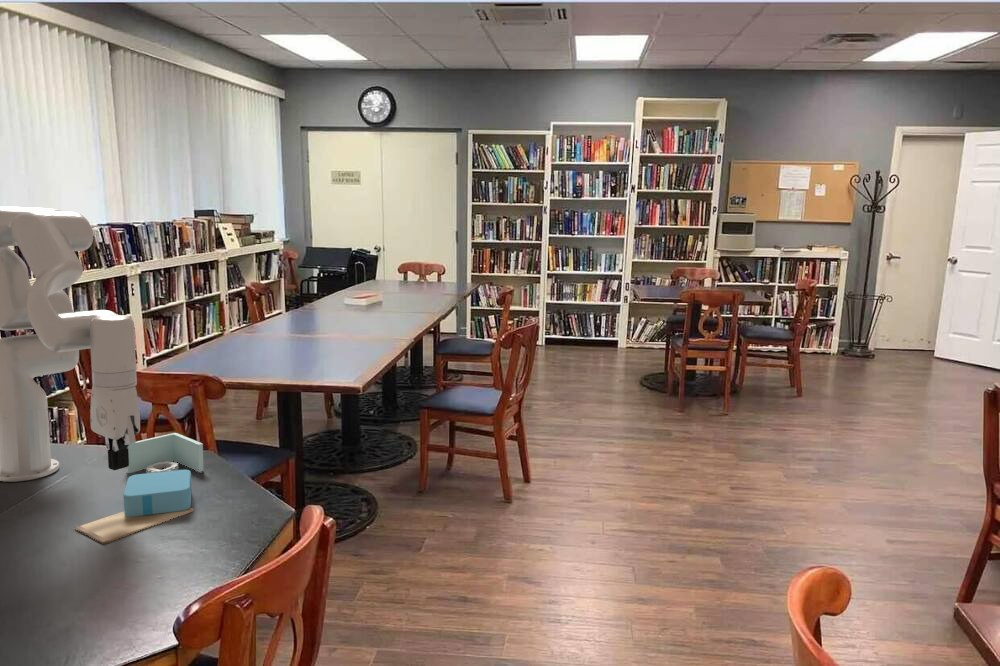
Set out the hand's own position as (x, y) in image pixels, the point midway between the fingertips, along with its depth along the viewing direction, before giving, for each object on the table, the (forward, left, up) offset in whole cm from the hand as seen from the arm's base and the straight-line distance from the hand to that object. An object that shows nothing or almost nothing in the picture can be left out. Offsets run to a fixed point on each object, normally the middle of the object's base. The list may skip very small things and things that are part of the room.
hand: (118, 467), depth 133 cm
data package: (-1, +2, -7) cm, 7 cm away
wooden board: (+5, 0, -10) cm, 11 cm away
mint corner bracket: (-14, +18, -10) cm, 25 cm away
